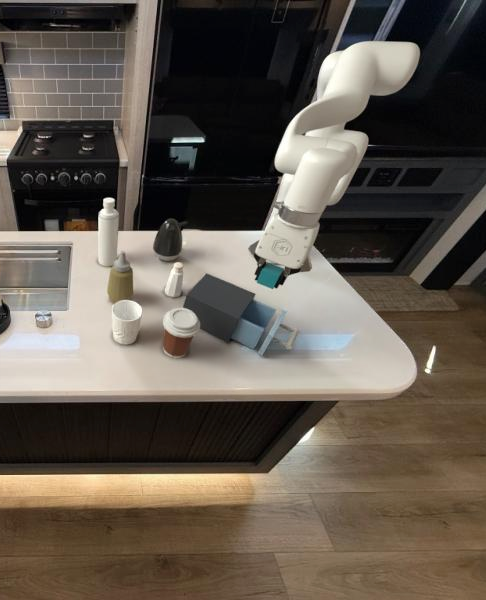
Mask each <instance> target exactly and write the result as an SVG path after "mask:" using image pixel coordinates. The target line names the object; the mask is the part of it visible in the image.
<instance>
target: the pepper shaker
mask: <svg viewBox="0 0 486 600" xmlns="http://www.w3.org/2000/svg"><path fill="white" fill-rule="evenodd" d="M183 269H184V264H183V263H182V262H174V263H173V268H172V269H171V271H170V273H169V277H168V278H167V279H168V280H167V283H166V286H165V289H164V293H165V295H167V296H168V297H171V298H177V297H180V296H181V295H182V291H183V281H184V271H183Z"/></svg>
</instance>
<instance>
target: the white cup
mask: <svg viewBox="0 0 486 600" xmlns="http://www.w3.org/2000/svg"><path fill="white" fill-rule="evenodd" d="M142 316H143V308H142V306H141V305H140V304H139V303H137V301H135V300H131V299H130V300H122V301H119V302H117V303H115V304H113V305H112V307H111V326H112V327H111V329H112V338H113V339H114V341H115V342H116V343H118V344H120V345H126V346H127V345H131V344H133V343H135V341H136V340H137V337H138V333H139V330H140V326H141V322H142Z"/></svg>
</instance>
